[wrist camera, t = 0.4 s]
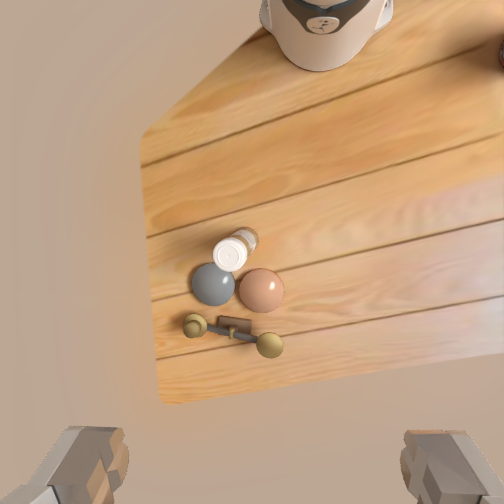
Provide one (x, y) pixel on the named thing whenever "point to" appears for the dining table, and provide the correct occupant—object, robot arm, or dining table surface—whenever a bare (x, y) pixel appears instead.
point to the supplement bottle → (502, 54)
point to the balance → (234, 333)
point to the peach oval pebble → (261, 290)
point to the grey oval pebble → (213, 285)
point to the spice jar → (235, 249)
